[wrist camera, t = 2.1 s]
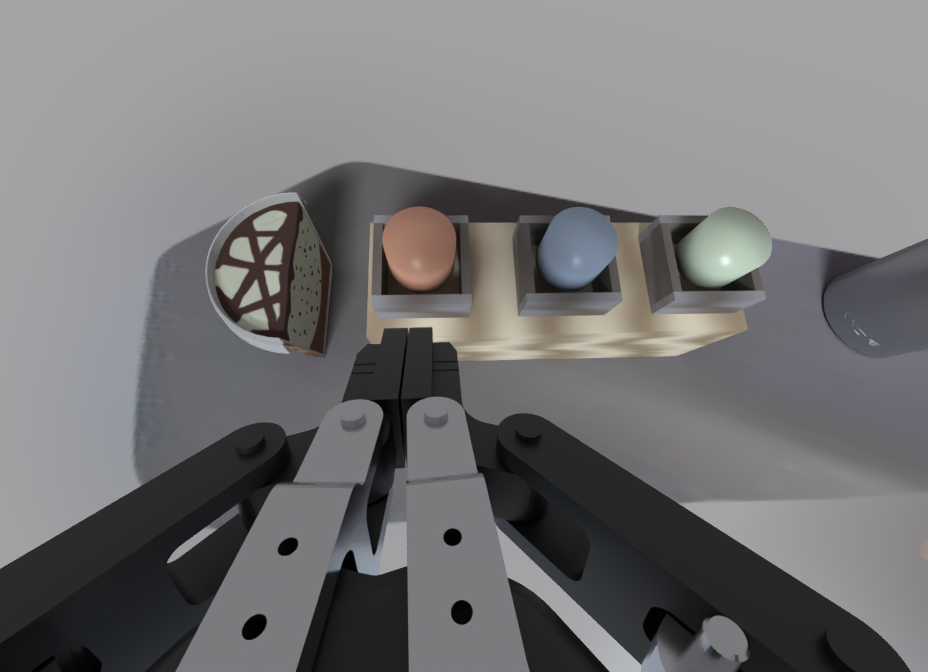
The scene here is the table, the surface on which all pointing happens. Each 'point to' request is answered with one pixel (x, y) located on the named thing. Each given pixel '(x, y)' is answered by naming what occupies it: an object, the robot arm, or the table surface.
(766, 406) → the table surface
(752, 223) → the sage button
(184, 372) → the table surface
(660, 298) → the button console
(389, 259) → the peach rounded knob
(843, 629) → the robot arm
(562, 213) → the slate button
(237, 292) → the food container
